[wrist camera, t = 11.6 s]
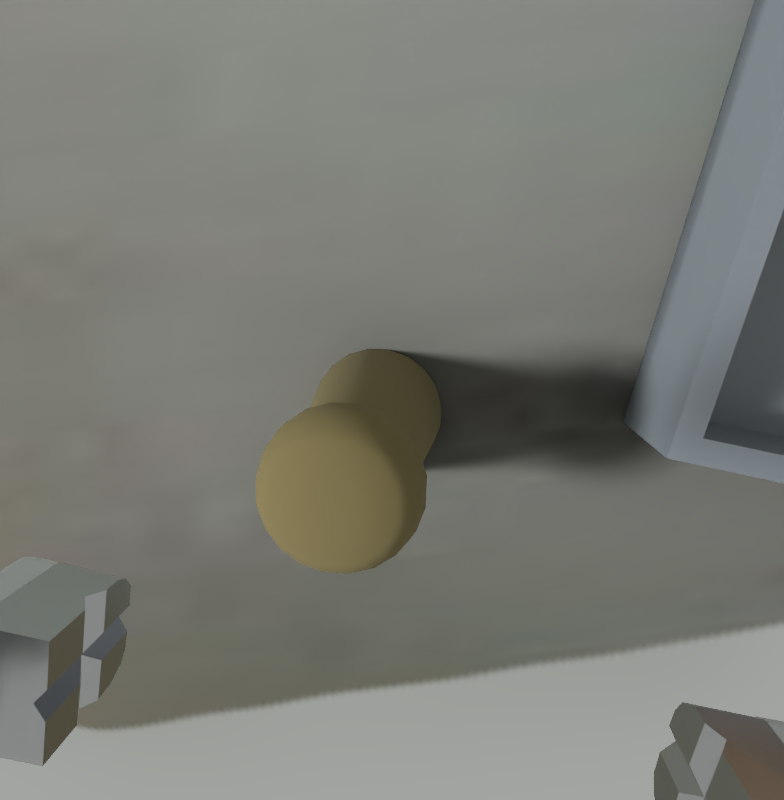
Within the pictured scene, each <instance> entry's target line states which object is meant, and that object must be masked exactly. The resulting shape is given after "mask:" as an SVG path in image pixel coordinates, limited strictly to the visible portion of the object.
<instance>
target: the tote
mask: <svg viewBox="0 0 784 800" xmlns="http://www.w3.org/2000/svg"><path fill="white" fill-rule="evenodd" d="M623 423H625V424H626V425H627V426H628V427H629V428H631V429H632V430H633V431H634V432H635V433H637V434H638V435H639V436H640V437H642V438H643V439H644V440H645V441H646V442H648V443H649V444H650V445H651V446H652V447H654V448H655V449H656V450H657V451H658V452H660V453H661V454H662V455H663V456H665V457H666V458H668V459H673V460H677V461H682V462H686V463H691V464H696V465H700V466H705V467H710V468H714V469H719V470H724V471H728V472H733V473H738V474H742V475H747V476H752V477H756V478H761V479H765V480H770V481H775V482H779V483H784V0H755V1H754V4H753V7H752V11H751V14H750V17H749V20H748V23H747V27H746V30H745V33H744V36H743V39H742V43H741V46H740V49H739V52H738V55H737V59H736V62H735V65H734V68H733V71H732V75H731V78H730V81H729V84H728V87H727V91H726V94H725V97H724V100H723V103H722V107H721V110H720V113H719V116H718V119H717V123H716V126H715V129H714V132H713V135H712V139H711V142H710V145H709V148H708V151H707V155H706V158H705V161H704V164H703V167H702V171H701V174H700V177H699V180H698V183H697V187H696V190H695V193H694V196H693V199H692V203H691V206H690V209H689V212H688V215H687V219H686V222H685V225H684V228H683V231H682V235H681V238H680V241H679V244H678V247H677V251H676V254H675V257H674V260H673V263H672V267H671V270H670V273H669V276H668V280H667V283H666V286H665V289H664V292H663V296H662V299H661V302H660V305H659V308H658V312H657V315H656V318H655V321H654V324H653V328H652V331H651V334H650V337H649V340H648V344H647V347H646V350H645V353H644V356H643V360H642V363H641V366H640V369H639V372H638V376H637V379H636V382H635V385H634V388H633V392H632V395H631V398H630V401H629V404H628V408H627V411H626V414H625V417H624V420H623Z"/></svg>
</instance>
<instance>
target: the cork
mask: <svg viewBox="0 0 784 800" xmlns="http://www.w3.org/2000/svg"><path fill="white" fill-rule="evenodd" d="M441 408H442V405H441V402H440V398H439V395H438V391H437V388H436V386H435V384H434V383H433V381H432V380H431V378H430V377H429V375H428V374H427V372H426V371H425V369H423V368H422V367H421V366H420V365H418V364H417V363H416V362H414V361H413V360H412V359H411V358H409V357H407V356H405V355H402V354H399V353H397V352H394V351H391V350H383V349H367V350H363V351H360V352H356V353H352V354H349V355H348V356H346V357H345V358H343V359H342V360H340V361H339V362H337V363H336V364H334V365H333V366H332V367H331V369H330V370H329V371H328V373H327V374H326V375H325V377H324V378H323V379H322V381H321V382H320V385H319V387H318V390H317V392H316V395H315V397H314V400H313V402H312V404H311V407H310V408H308V409H306V410H304V411H303V412H301V413H300V414H298V415H297V416H295V417H294V418H292V419H291V420H289V421H288V422H286V423H285V424H284V425H283V426H282V427H280V429H279V430H278V431H277V433H276V434H275V435H274V437H273V438H272V439H271V441H270V442H269V443H268V445H267V446H266V447H265V449H264V452H263V455H262V459H261V462H260V465H259V468H258V471H257V475H256V479H255V480H256V505H257V508H258V510H259V513H260V516H261V519H262V521H263V524H264V527H265V528H266V530H267V531H268V532H269V534H270V535H271V536H272V538H273V539H274V540H275V542H276V543H277V544H278V546H279V547H280V548H281V549H282V550H283V551H284V552H286V553H287V554H288V555H290V556H291V557H293V558H294V559H295V560H297V561H298V562H299V563H301V564H304V565H306V566H309V567H312V568H314V569H317V570H320V571H322V572H336V573H353V572H358V571H362V570H367V569H371V568H375V567H376V566H378V565H380V564H382V563H383V562H385V561H387V560H388V559H390V558H392V557H394V556H395V555H396V554H397V553H398V552H399V551H400V549H401V548H402V547H403V546H404V545H405V544H406V543H407V542H408V540H409V539H410V538H411V537H412V536H413V534H414V533H415V532H416V530H417V527H418V525H419V522H420V520H421V517H422V515H423V512H424V510H425V504H426V483H427V474H426V471H425V468H424V464H423V462H424V460H425V458H426V456H427V455H428V453H429V451H430V449H431V447H432V445H433V444H434V441H435V438H436V436H437V433H438V431H439V428H440V426H441Z"/></svg>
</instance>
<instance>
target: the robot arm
mask: <svg viewBox="0 0 784 800" xmlns="http://www.w3.org/2000/svg"><path fill="white" fill-rule="evenodd" d="M130 587H131V585H130V584H129V582H128V581H127V580H126V578H122V577H118V576H114V575H110V574H106V573H101V572H97V571H93V570H89V569H85V568H81V567H77V566H73V565H69V564H65V563H64V564H62V563H60V562H56V561H52V560H47V559H42V558H38V557H33V556H31V557H22V558H20V559H18V560H17V561H15V562H14V563H12V564H11V565H9V566H7V567H6V568H4V569H3V570H1V571H0V758H6V759H11V760H15V761H20V762H25V763H30V764H35V765H40V766H43V765H44V764H45V763H46V762H47V760H48V759H49V758H50V757H51V755H52V754H53V753H54V752H55V751H56V750H57V748H58V747H59V746H60V745H61V744H62V742H63V741H64V740H65V739H66V737H67V736H68V735H69V734H70V733H71V732H72V731H73V729H74V728H75V727H76V726H77V722H78V710H79V708H81V707H84V706H86V705H88V704H90V703H92V702H94V701H96V700H98V699H99V698H100V697H101V695H102V694H103V693H104V692H105V690H106V689H107V688H108V687H109V685H110V684H111V682H112V680H113V678H114V676H115V674H116V672H117V670H118V668H119V666H120V664H121V662H122V658H123V654H124V651H125V647H126V639H127V630H126V629H125V627H124V625H123V623H122V622H121V620H120V618H119V616H120V615H121V614H122V613H123V612H124V611H125V609H126V608H127V607H128V606H129V605H130ZM670 728H671V730H672V733H673V735H674V738H675V740H676V741H675V742H674V743H672V744H671V745H670V746H668V747H667V748H665V749H664V750H663V751H661V752H660V754H659V758H658V761H657V765H656V768H655V771H654V797H655V800H784V722H782V721H777V720H771V719H766V718H760V717H750V716H746V715H741V714H736V713H731V712H726V711H721V710H717V709H712V708H707V707H703V706H697V705H693V704H688V703H682V704H681V705H680V706H679V707H678V708H677V709H676V710H675V712H674V715H673V717H672V720H671V723H670Z"/></svg>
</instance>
